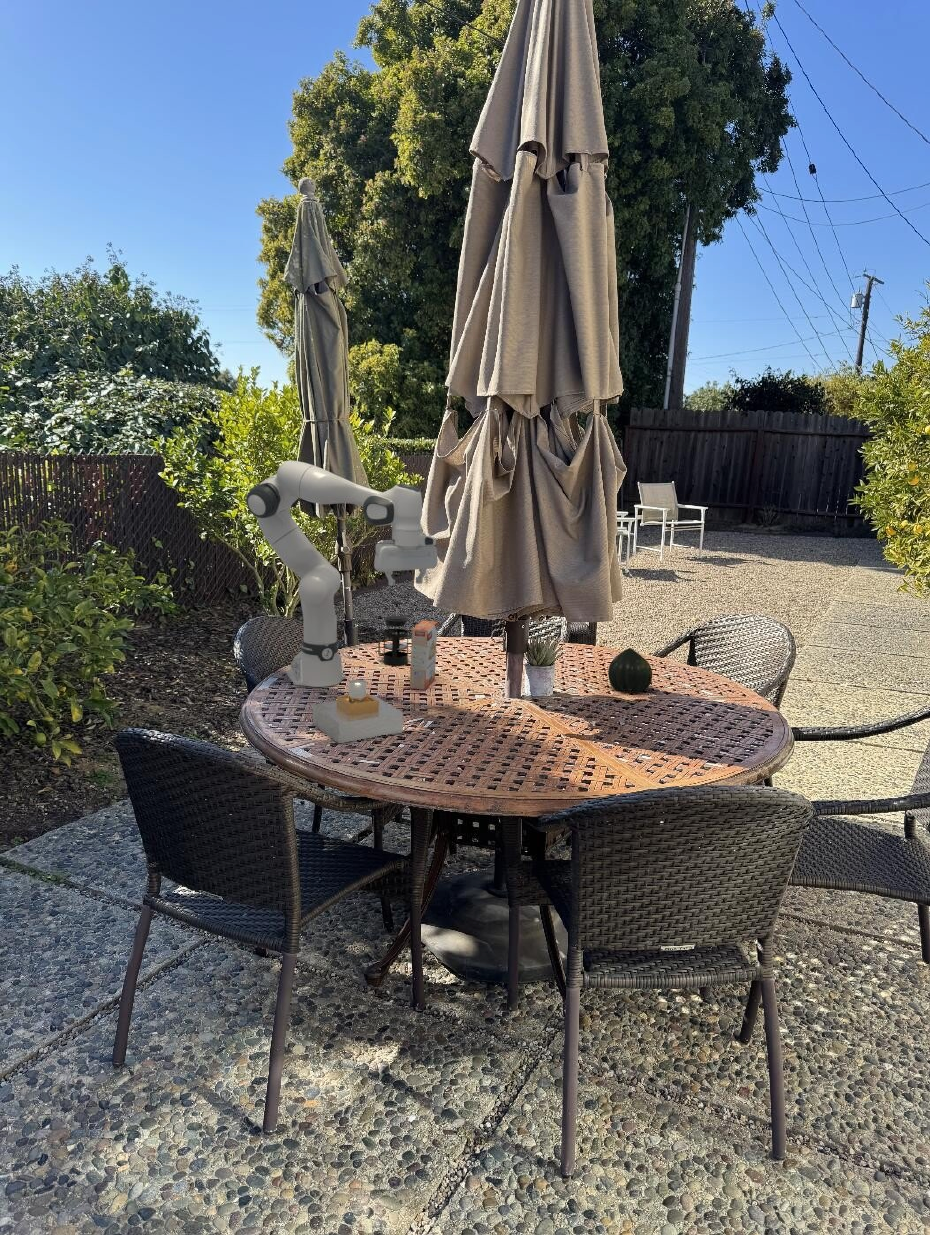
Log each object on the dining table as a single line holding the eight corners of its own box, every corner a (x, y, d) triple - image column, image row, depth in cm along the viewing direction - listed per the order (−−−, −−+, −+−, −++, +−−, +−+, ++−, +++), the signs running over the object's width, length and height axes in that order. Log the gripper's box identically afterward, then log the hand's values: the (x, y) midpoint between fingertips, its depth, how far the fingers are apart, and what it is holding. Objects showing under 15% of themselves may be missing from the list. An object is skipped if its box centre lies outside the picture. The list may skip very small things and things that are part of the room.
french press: (411, 659, 325) (412, 600, 320) (408, 666, 316) (410, 605, 311) (379, 658, 325) (381, 598, 320) (376, 665, 316) (377, 603, 311)
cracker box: (426, 691, 288) (428, 630, 284) (409, 689, 289) (410, 628, 285) (436, 679, 302) (438, 621, 297) (419, 677, 303) (421, 619, 298)
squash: (636, 685, 286) (650, 646, 292) (595, 677, 295) (611, 640, 300) (648, 705, 296) (662, 667, 302) (609, 697, 305) (623, 661, 310)
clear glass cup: (345, 707, 250) (346, 680, 249) (361, 704, 253) (361, 678, 251) (353, 712, 246) (353, 685, 244) (369, 709, 249) (369, 683, 247)
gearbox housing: (312, 724, 253) (312, 694, 251) (373, 713, 264) (374, 685, 262) (338, 744, 238) (339, 712, 236) (402, 732, 249) (403, 702, 247)
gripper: (380, 541, 251) (379, 588, 254) (440, 539, 262) (439, 584, 265) (370, 539, 257) (370, 584, 260) (430, 536, 268) (428, 580, 271)
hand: (405, 584), depth 263 cm, fingers open, 8 cm apart
